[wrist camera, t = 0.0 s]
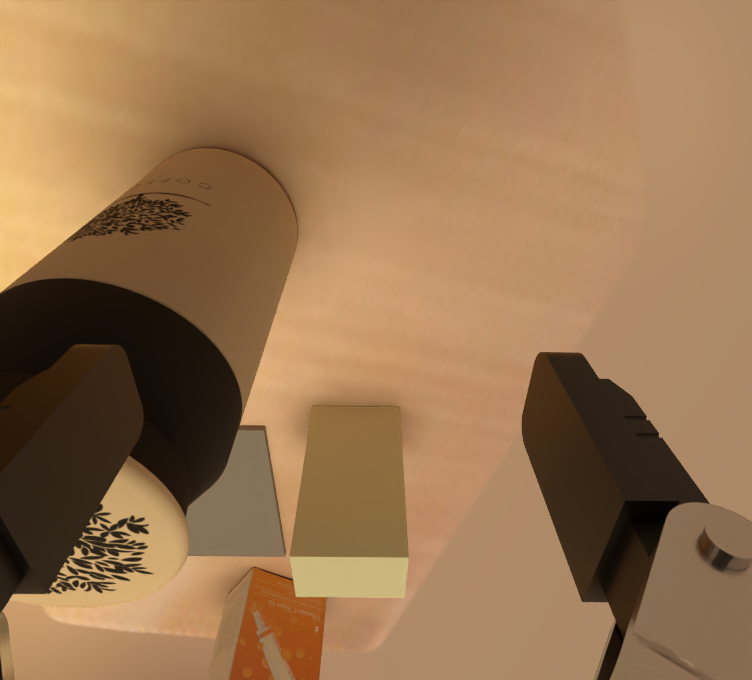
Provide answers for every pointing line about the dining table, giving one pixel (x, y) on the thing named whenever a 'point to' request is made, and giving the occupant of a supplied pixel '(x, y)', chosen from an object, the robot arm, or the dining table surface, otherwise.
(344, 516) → the tall tan pillar block
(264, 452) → the rubber mat
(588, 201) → the dining table surface
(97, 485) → the robot arm
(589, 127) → the dining table surface
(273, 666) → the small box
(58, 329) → the travel mug
